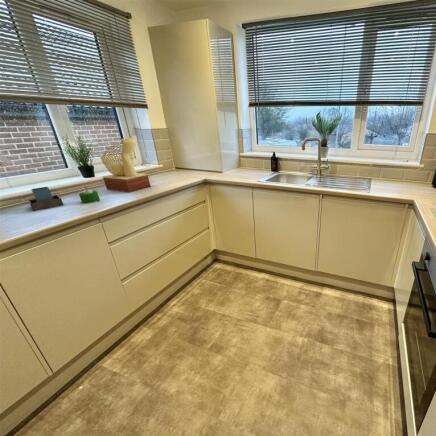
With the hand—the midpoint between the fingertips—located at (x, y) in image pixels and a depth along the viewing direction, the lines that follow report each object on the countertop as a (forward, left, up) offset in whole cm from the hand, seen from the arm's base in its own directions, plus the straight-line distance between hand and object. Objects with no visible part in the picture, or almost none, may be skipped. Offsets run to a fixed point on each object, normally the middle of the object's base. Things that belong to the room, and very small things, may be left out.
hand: (6, 163), depth 119 cm
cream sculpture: (+49, +15, -25) cm, 57 cm away
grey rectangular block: (+8, 0, -24) cm, 25 cm away
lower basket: (+8, 0, -25) cm, 26 cm away
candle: (+27, -6, -25) cm, 37 cm away
